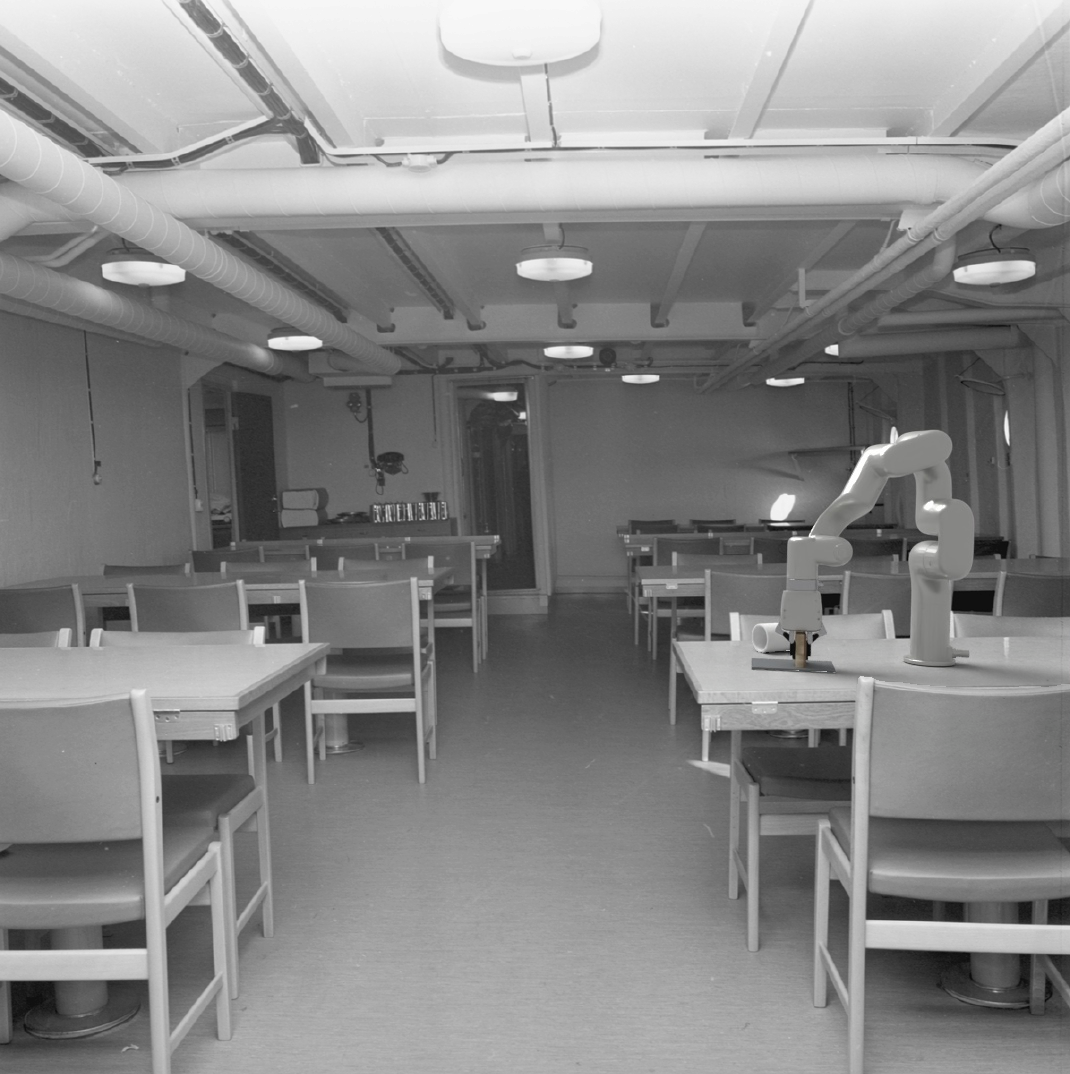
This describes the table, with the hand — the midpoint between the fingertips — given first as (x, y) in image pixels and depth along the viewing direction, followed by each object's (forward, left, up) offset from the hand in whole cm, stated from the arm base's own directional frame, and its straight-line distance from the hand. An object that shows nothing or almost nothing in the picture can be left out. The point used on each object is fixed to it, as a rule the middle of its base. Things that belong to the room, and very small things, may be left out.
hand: (800, 658), depth 250 cm
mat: (+2, 0, -2) cm, 3 cm away
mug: (+7, -25, -2) cm, 26 cm away
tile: (0, 0, -2) cm, 2 cm away
